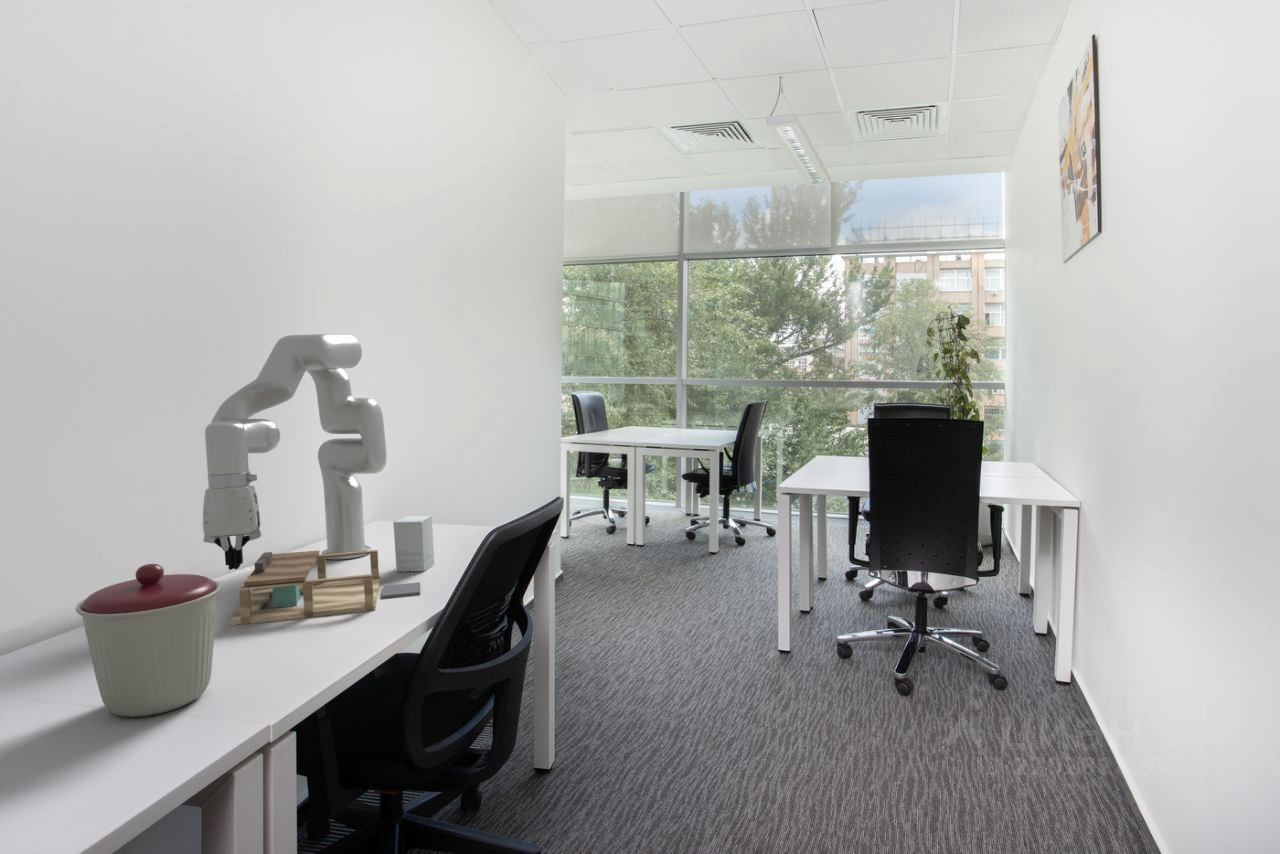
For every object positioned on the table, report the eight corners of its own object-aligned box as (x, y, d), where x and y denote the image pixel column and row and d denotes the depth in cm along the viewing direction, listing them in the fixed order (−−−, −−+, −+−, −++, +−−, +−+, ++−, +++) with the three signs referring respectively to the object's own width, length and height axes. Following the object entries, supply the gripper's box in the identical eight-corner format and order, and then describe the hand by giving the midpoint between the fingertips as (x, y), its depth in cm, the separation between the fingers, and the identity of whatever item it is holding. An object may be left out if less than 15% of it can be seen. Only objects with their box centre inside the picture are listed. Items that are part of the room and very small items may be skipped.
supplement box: (435, 564, 190) (433, 515, 189) (424, 572, 183) (421, 521, 182) (407, 564, 191) (405, 515, 190) (395, 572, 184) (392, 521, 183)
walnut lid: (267, 558, 169) (266, 546, 169) (319, 553, 173) (318, 541, 172) (244, 586, 147) (243, 572, 147) (304, 580, 150) (304, 566, 150)
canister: (54, 719, 107) (42, 575, 106) (173, 671, 124) (163, 546, 122) (142, 739, 101) (130, 586, 99) (254, 685, 118) (246, 554, 116)
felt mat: (383, 588, 170) (383, 585, 170) (420, 584, 172) (419, 582, 172) (381, 598, 162) (381, 595, 162) (420, 594, 164) (420, 591, 164)
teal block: (277, 601, 162) (275, 569, 161) (299, 599, 163) (298, 567, 163) (273, 607, 157) (271, 575, 157) (296, 605, 159) (294, 572, 158)
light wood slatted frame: (254, 591, 169) (252, 560, 169) (380, 579, 177) (378, 549, 176) (229, 625, 146) (227, 589, 146) (375, 610, 154) (373, 575, 154)
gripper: (271, 476, 161) (276, 560, 163) (193, 481, 157) (199, 567, 158) (264, 481, 154) (270, 568, 155) (183, 486, 150) (189, 576, 151)
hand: (234, 567), depth 157 cm, fingers closed
